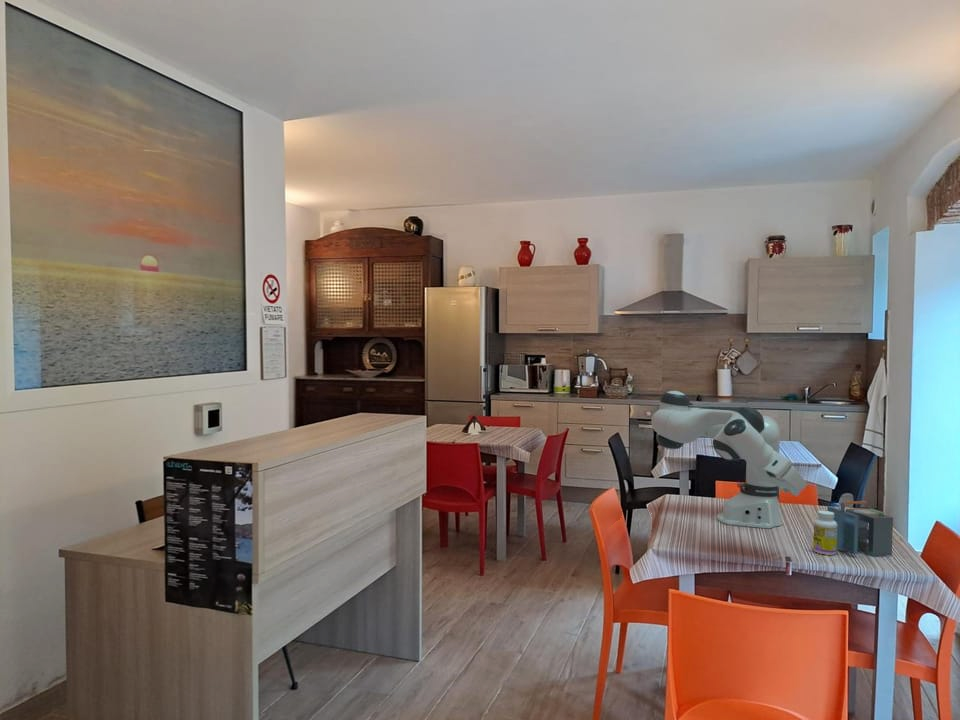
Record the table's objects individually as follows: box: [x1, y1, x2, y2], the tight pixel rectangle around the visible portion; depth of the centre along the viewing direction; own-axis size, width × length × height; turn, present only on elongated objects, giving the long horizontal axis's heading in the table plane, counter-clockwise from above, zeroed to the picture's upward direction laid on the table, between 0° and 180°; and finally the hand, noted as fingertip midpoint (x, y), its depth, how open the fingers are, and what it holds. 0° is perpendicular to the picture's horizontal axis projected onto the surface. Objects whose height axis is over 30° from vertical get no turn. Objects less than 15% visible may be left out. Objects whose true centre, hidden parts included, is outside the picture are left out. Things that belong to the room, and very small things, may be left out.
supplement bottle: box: [812, 510, 838, 556], centre depth 214 cm, size 7×7×13 cm
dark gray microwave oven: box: [845, 507, 894, 557], centre depth 217 cm, size 7×12×13 cm, turn 12°
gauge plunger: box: [827, 500, 869, 555], centre depth 216 cm, size 10×12×15 cm
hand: (792, 492), depth 211 cm, fingers open, 3 cm apart
